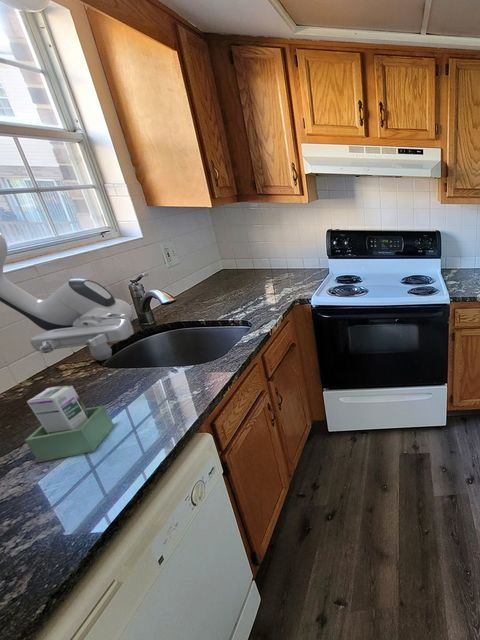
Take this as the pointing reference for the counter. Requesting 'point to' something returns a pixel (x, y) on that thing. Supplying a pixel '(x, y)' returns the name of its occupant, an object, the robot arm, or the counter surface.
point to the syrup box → (59, 409)
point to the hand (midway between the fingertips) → (66, 347)
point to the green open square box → (71, 437)
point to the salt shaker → (101, 351)
